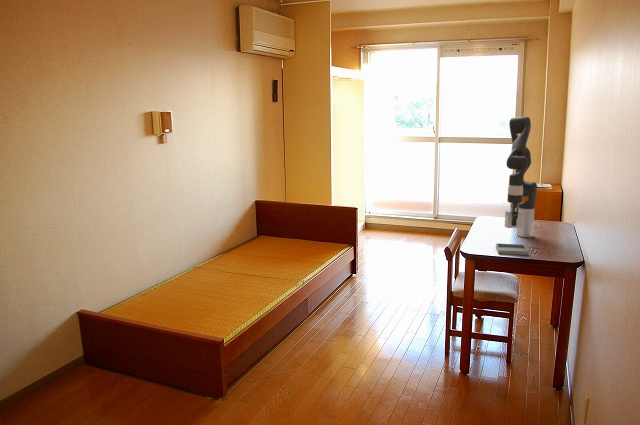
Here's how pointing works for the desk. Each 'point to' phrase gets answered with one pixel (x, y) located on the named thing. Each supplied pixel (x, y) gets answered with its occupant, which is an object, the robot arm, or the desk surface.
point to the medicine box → (509, 220)
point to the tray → (512, 249)
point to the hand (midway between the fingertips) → (513, 224)
